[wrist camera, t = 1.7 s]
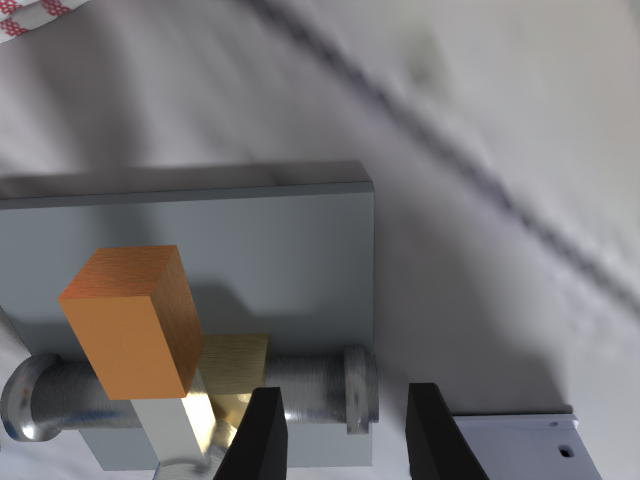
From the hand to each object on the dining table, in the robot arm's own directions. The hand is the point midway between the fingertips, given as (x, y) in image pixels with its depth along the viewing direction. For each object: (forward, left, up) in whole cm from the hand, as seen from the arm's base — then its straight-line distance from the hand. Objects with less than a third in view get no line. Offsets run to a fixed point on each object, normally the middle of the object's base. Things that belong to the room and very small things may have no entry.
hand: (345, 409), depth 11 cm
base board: (+8, +8, -9) cm, 14 cm away
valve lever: (+7, +4, -4) cm, 9 cm away
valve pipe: (+8, +8, -9) cm, 14 cm away
